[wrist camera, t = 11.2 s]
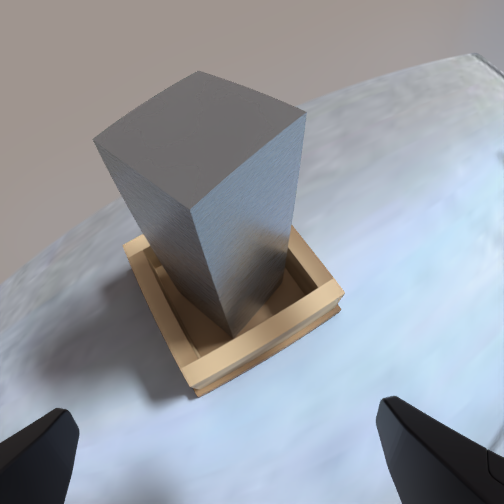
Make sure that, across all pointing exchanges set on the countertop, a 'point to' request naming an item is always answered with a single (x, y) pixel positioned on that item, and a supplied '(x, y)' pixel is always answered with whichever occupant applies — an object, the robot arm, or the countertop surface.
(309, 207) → the countertop surface
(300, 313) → the dock
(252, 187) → the post
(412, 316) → the countertop surface
